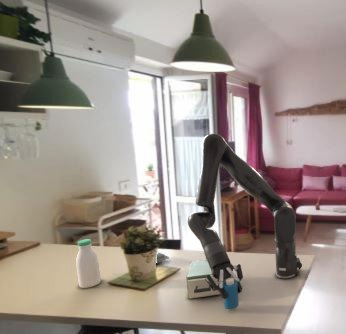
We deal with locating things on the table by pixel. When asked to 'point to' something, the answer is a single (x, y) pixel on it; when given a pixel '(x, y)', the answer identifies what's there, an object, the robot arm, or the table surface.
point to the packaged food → (161, 257)
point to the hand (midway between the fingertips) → (233, 295)
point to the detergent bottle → (231, 293)
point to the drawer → (200, 288)
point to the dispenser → (198, 271)
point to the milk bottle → (87, 265)
